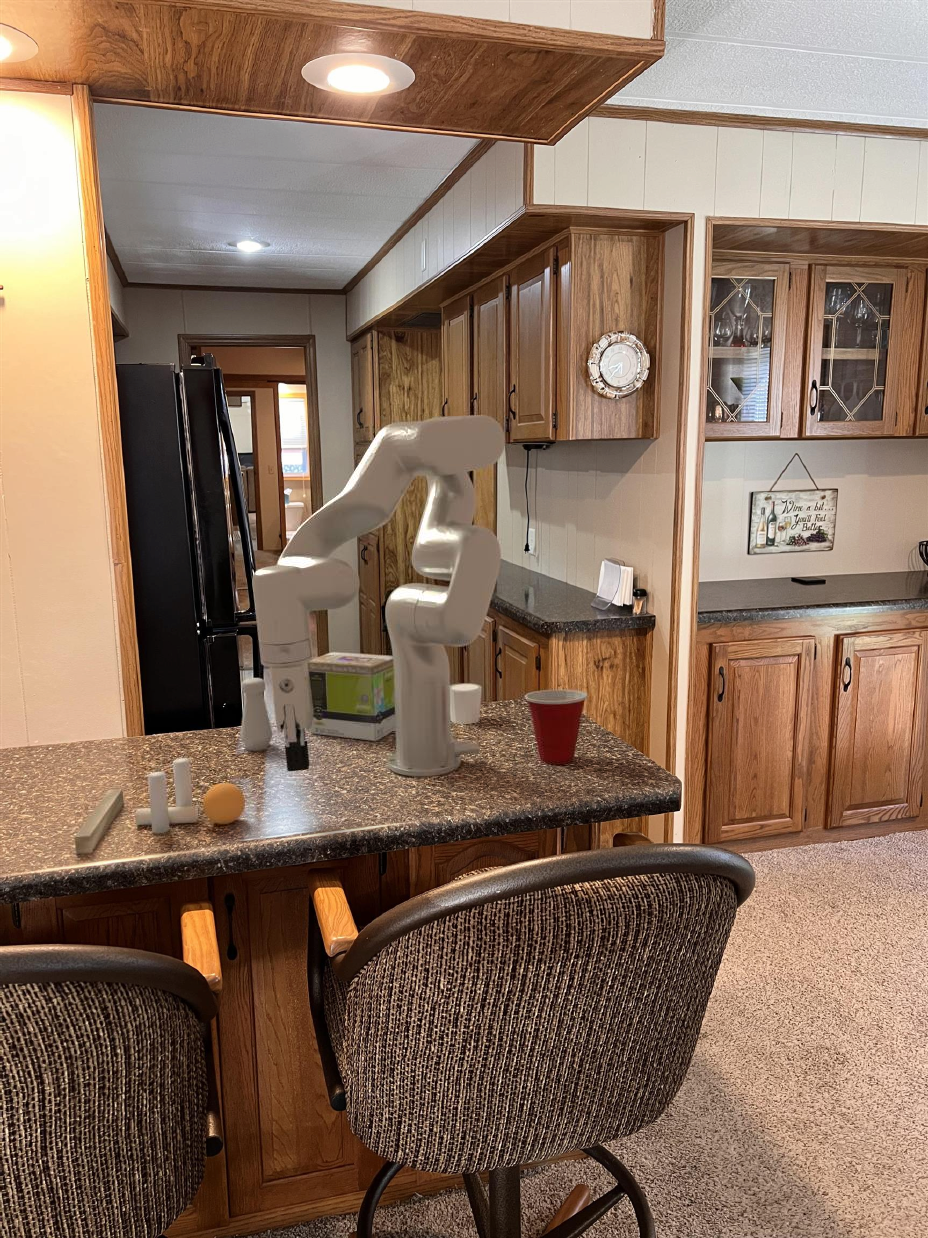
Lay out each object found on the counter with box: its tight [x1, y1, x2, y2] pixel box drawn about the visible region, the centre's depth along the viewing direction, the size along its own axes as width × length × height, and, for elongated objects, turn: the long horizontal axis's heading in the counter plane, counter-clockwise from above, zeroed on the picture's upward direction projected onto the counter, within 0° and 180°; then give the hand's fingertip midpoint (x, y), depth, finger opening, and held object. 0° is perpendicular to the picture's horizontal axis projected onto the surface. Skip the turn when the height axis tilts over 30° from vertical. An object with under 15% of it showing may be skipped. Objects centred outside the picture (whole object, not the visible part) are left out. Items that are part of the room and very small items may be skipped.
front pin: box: [135, 805, 199, 826], centre depth 137 cm, size 2×2×8 cm
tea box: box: [307, 651, 396, 742], centre depth 178 cm, size 15×10×15 cm
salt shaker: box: [240, 677, 273, 752], centre depth 170 cm, size 6×6×13 cm
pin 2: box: [172, 757, 194, 807], centre depth 139 cm, size 2×2×8 cm
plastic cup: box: [524, 689, 589, 765], centre depth 160 cm, size 11×11×12 cm
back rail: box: [74, 788, 125, 855], centre depth 136 cm, size 2×18×2 cm, turn 6°
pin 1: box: [147, 771, 170, 835], centre depth 133 cm, size 2×2×8 cm
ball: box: [202, 782, 246, 825], centre depth 136 cm, size 6×6×6 cm
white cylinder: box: [450, 682, 483, 725], centre depth 184 cm, size 7×7×7 cm
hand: (298, 768), depth 138 cm, fingers closed
